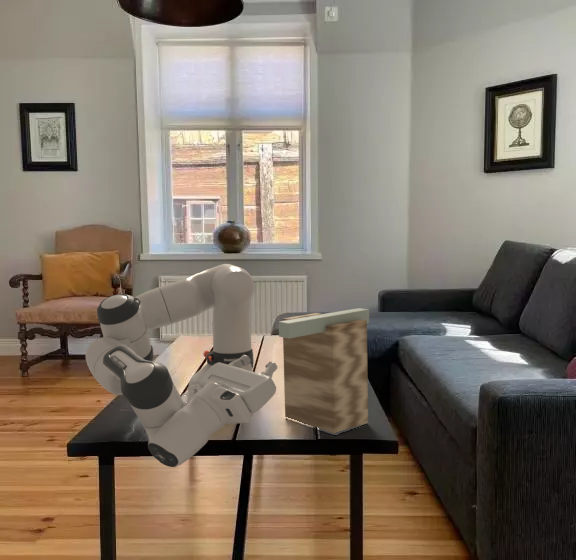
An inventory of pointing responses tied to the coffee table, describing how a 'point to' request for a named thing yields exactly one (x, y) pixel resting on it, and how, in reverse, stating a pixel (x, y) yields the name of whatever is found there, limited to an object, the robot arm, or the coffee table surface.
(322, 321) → the gray-green block
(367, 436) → the coffee table surface
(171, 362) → the coffee table surface
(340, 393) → the wooden box
